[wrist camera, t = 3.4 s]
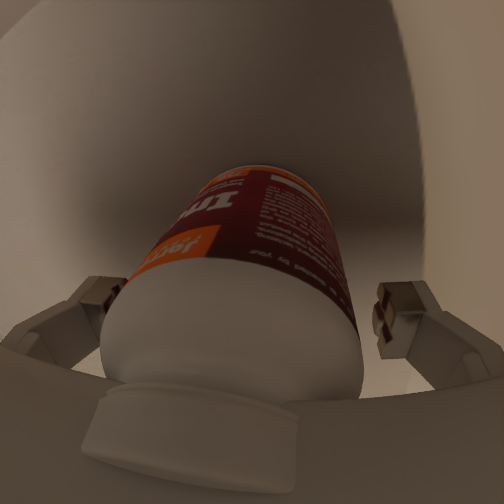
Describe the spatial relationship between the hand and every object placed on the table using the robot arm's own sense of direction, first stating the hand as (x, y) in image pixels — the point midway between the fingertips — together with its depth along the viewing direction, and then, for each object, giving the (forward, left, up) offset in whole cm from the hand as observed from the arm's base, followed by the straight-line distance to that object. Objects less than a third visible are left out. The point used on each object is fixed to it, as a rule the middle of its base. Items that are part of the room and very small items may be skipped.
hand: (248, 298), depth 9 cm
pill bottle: (0, 0, -5) cm, 5 cm away
